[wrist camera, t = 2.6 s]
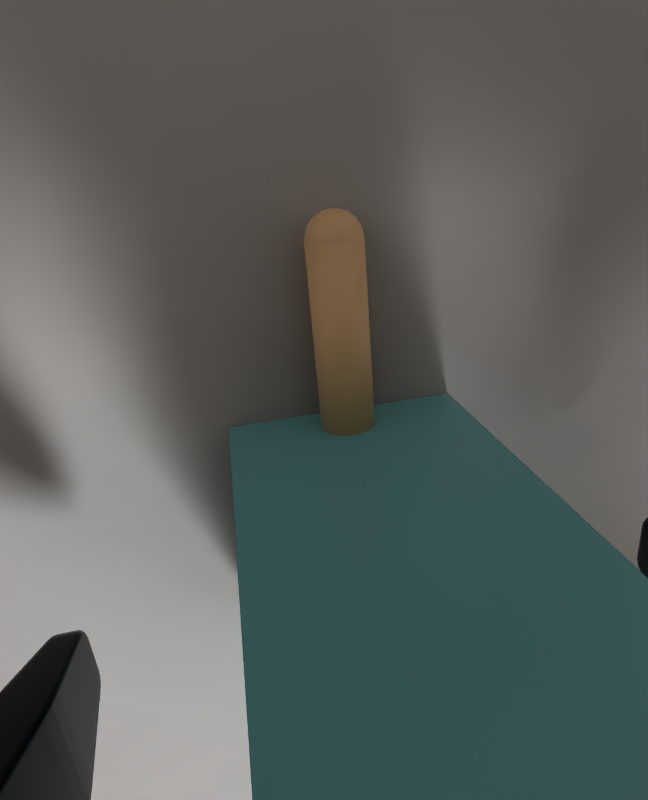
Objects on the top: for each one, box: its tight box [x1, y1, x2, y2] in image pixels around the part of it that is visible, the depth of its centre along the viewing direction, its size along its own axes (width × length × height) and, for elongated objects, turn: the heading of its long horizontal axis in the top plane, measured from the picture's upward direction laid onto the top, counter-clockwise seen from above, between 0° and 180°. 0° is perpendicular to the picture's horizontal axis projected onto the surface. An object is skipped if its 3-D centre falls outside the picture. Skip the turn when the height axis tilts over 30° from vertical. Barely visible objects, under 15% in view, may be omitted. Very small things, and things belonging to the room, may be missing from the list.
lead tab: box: [228, 208, 648, 800], centre depth 7 cm, size 4×7×7 cm, turn 5°
